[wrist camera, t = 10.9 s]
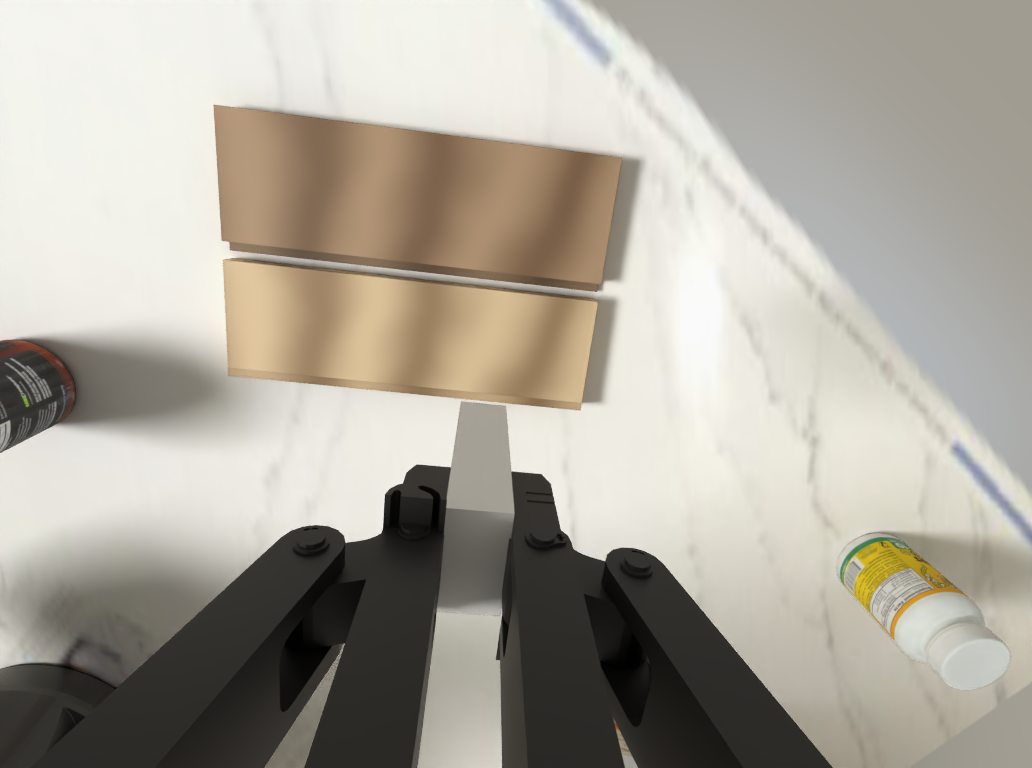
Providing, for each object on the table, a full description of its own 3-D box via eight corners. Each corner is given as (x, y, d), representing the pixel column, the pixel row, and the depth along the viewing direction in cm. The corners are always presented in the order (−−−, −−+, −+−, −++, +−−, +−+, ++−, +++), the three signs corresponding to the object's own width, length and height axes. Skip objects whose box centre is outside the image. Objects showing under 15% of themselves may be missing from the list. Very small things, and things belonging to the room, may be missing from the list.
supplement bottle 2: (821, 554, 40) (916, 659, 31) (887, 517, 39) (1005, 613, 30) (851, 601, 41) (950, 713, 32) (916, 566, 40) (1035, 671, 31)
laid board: (232, 249, 32) (222, 251, 30) (224, 108, 29) (213, 104, 28) (595, 290, 33) (599, 294, 32) (617, 159, 31) (621, 157, 29)
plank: (237, 369, 34) (228, 375, 33) (232, 258, 32) (222, 259, 31) (577, 403, 35) (580, 410, 34) (594, 298, 33) (598, 302, 32)
